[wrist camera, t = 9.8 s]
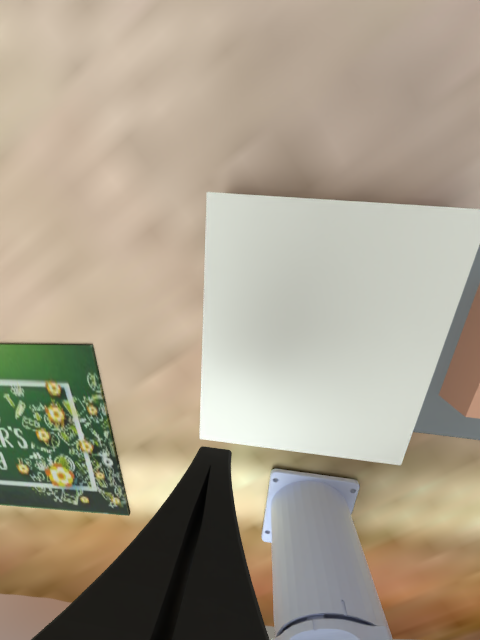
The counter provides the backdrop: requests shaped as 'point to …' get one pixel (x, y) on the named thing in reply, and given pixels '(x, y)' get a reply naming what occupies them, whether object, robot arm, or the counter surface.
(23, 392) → the decorative card
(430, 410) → the mat
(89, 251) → the counter surface
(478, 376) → the tile
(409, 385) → the white platform
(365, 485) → the counter surface
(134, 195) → the counter surface
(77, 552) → the counter surface
